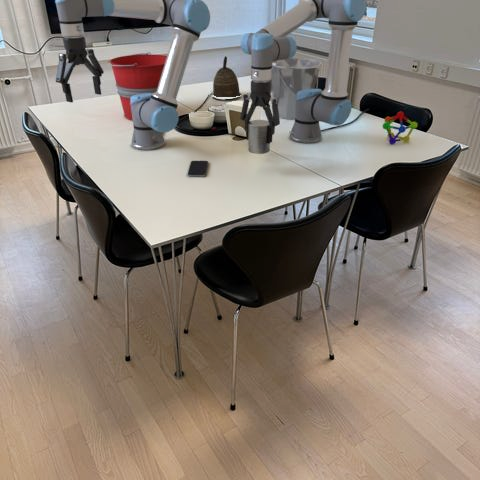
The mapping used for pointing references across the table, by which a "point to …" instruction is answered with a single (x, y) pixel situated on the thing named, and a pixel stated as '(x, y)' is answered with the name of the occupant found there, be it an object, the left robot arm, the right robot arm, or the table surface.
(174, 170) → the table surface
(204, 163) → the smartphone
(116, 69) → the bucket
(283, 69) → the bucket
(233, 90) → the bell
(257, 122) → the tin
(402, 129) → the educational toy
